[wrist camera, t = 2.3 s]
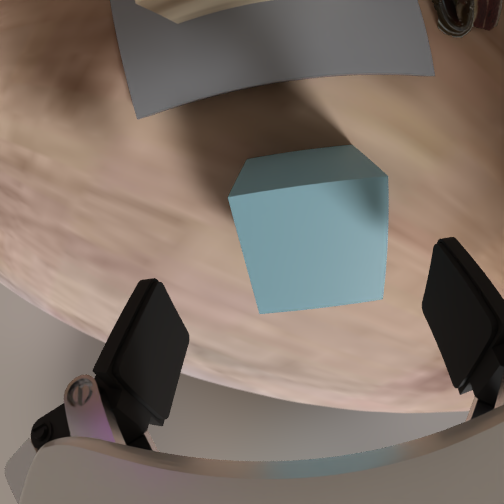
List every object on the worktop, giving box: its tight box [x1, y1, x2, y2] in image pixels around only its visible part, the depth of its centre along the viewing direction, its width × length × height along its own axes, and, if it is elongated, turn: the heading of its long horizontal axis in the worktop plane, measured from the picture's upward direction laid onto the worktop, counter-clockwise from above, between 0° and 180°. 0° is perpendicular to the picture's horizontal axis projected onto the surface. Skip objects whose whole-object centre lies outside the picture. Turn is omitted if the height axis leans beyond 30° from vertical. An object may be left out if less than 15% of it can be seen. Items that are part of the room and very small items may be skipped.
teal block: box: [228, 145, 388, 314], centre depth 14 cm, size 6×6×6 cm
